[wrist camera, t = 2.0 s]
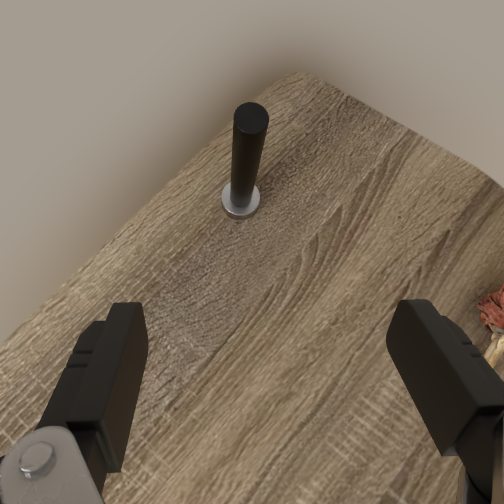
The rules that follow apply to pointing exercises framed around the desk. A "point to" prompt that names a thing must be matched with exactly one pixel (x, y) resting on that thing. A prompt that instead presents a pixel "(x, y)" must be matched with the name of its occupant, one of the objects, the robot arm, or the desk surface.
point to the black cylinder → (245, 161)
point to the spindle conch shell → (493, 323)
